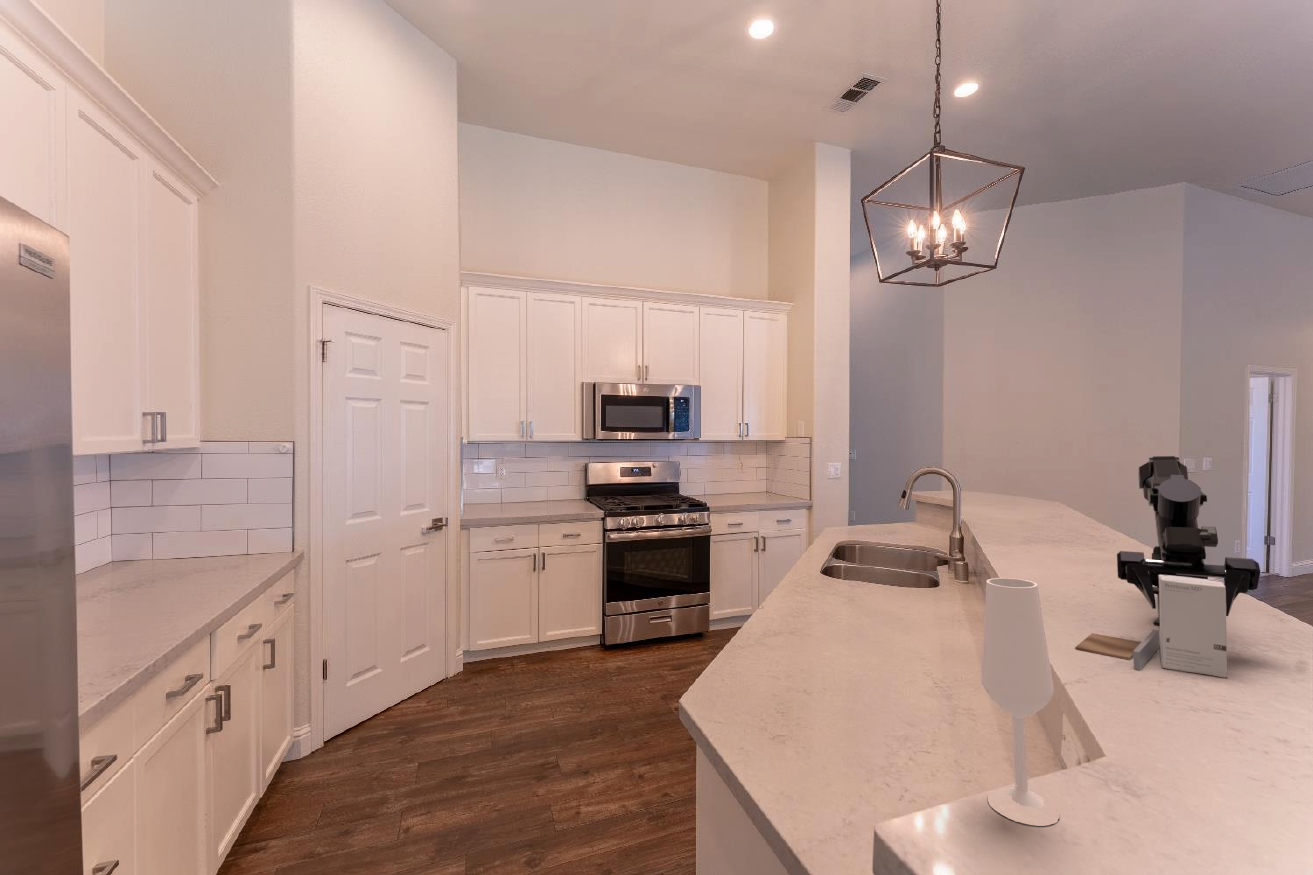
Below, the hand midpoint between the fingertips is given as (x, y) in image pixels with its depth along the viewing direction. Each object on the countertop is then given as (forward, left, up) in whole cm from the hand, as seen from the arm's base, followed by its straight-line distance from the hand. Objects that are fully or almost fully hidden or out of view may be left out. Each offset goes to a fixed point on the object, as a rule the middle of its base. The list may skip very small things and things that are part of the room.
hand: (1189, 611), depth 100 cm
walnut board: (-1, -12, -9) cm, 15 cm away
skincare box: (+2, 0, -9) cm, 9 cm away
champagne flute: (+63, -6, -9) cm, 64 cm away
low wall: (+1, -6, -9) cm, 11 cm away
